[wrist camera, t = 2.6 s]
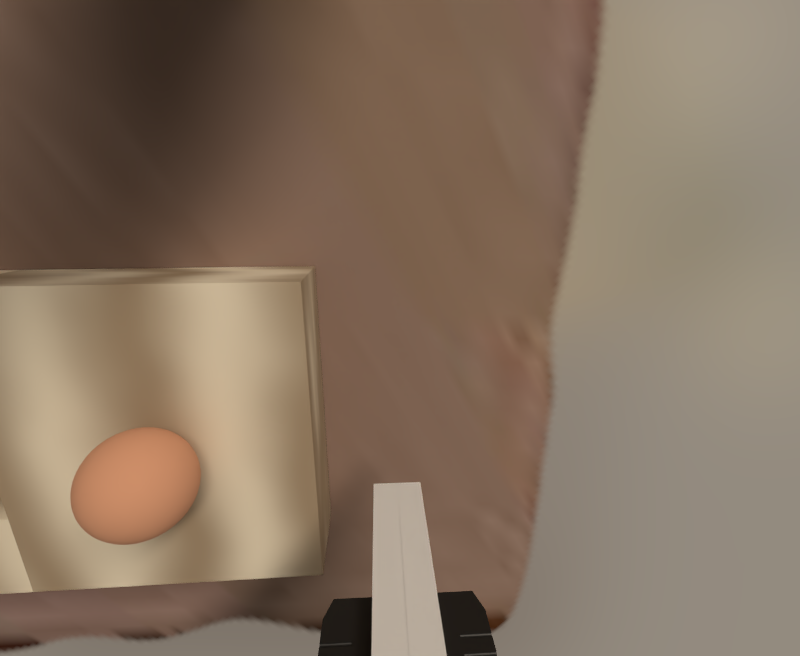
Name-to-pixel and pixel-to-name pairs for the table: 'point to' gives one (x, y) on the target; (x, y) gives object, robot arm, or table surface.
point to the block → (163, 419)
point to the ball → (135, 485)
